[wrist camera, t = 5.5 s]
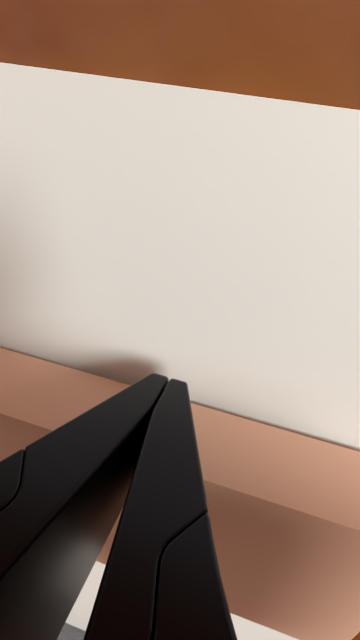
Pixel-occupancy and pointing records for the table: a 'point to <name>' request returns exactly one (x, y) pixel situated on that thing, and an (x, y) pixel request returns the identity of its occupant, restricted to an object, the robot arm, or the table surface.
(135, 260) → the base
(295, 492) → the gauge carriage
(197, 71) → the table surface
